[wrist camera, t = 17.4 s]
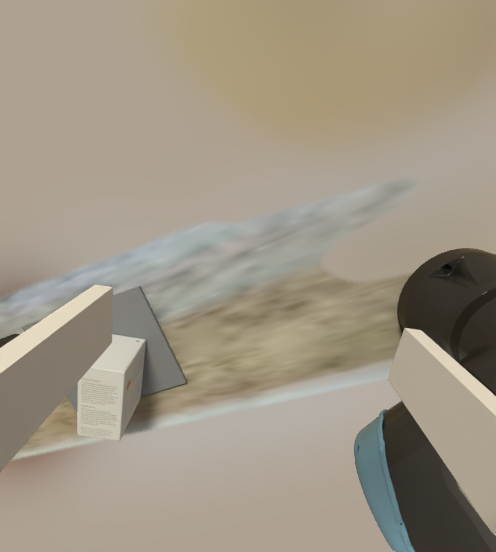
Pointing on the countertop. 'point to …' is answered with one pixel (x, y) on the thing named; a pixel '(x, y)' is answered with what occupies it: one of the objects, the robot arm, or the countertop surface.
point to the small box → (111, 389)
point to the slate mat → (158, 354)
